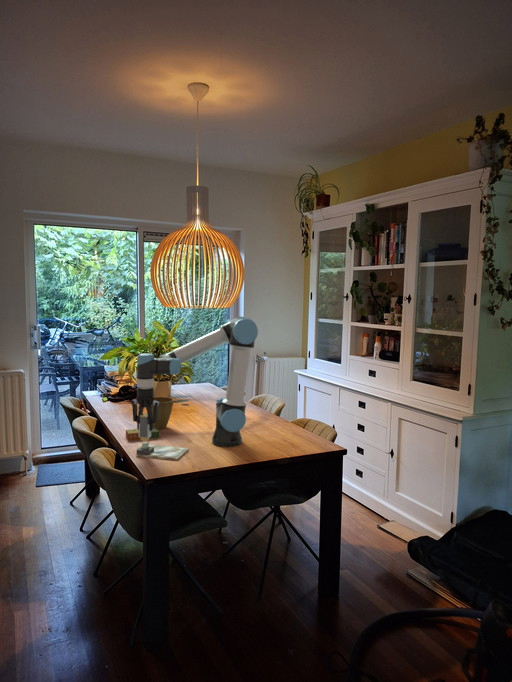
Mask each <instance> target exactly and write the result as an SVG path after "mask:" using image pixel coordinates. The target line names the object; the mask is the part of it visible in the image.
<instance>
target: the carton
mask: <svg viewBox="0 0 512 682" xmlns="http://www.w3.org/2000/svg"><path fill="white" fill-rule="evenodd" d="M160 435H161V434H160V431H159V429H157V428H153V430H152V431H151V437H150V438H149V440H153V439H154V440H155V439H157V438H158V439H160V438H161V437H160ZM125 438H126V439H127V441H128V442H132V441H133V442H135V441H141V437H139V430H138V429H137V428H135V429H134V428H133V429H125Z"/></svg>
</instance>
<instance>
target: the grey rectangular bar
mask: <svg viewBox="0 0 512 682" xmlns="http://www.w3.org/2000/svg"><path fill="white" fill-rule="evenodd" d="M148 423H149V420H148V414H147V413H143V414H142V415H140V437H141V440H140V442H141V441H142V442H148V441H149V440H150V439H149V438H147V424H148Z"/></svg>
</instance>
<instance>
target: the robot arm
mask: <svg viewBox="0 0 512 682" xmlns="http://www.w3.org/2000/svg"><path fill="white" fill-rule="evenodd" d="M258 334H259V329H258V326H257V324H256V322H254V321H253V320H252V319H251V318H247V317H245V316H237V317H235V318H233V319H231V320H229V321H227V322H226V323H224V324H222V325H220V326H219V328H218V329H217V330H214V331H211V332H209V333H207V334H205V335H204V336H201V337H199V338H197V339H196V340H193V341H191V342H189V343H186V344H184V345H183V346H179V347H178V348H176V349H173V350H172V351H170V352H168V353H164V354H162V355H160V357H159V358H156V357H155V355H154V353H147V352H146V353H145V352H144V353H139V354H138V355H137V362H136V374H137V375H136V378H137V380H136V387H137V388H136V399H135V398H134V399H132V400H131V401H130V403H131V406H132V421H133V422H136V426H137V427H136V429H138V430H139V437H140V415H142V414H144V408H145V410H146V412H147V413H146V414H148V420H149V423H148V424H147V438H150V437H151V431H152V430H153V423H155V422H157V416H158V406H159V404H160V402H159V401H158V402H157V401H155V400H154V397H155V396H154V395H155V390H154V386H155V376H156V375H172V376H174V375H179V374H180V373H181V365H182V364H185V362H188V361H190V360H192V359H194V358H196V357H199V356H201V355H203V354H205V353H207V352H209V351H211V350H214V349H215V348H217V347H219V346H222V345H223V344H229V346H230V347H231V356H230V364H229V370H228V378H227V385H226V393H225V397H218V398H217V399H216V402H215V405H216V406H215V409H216V410H215V411H216V412H215V413H216V414H215V429H214V431H213V434H212V435H213V436H212V438H211V439H212V441H211V442H212V444H213V445H215V446H217V447H223V448H225V447H227V448H229V447H237V446H240V445H242V443H243V438H242V434H241V430H242V429H243V428H244V426H245V425H246V422H247V416H246V406H247V403H246V402H245V400H244V399H245V398H244V397H245V391H246V385H247V384H246V382H247V376H248V368H249V362H250V361H249V360H250V354H251V350H253V349H254V347H255V341H256V339H257V337H258ZM154 375H155V376H154ZM152 403H154V409H153V415H152V406H151V405H152Z"/></svg>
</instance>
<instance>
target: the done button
mask: <svg viewBox="0 0 512 682" xmlns="http://www.w3.org/2000/svg"><path fill="white" fill-rule="evenodd" d="M149 445H150V444H149V442H148V441H142V444H141V446H142V450H148V449H149Z"/></svg>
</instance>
